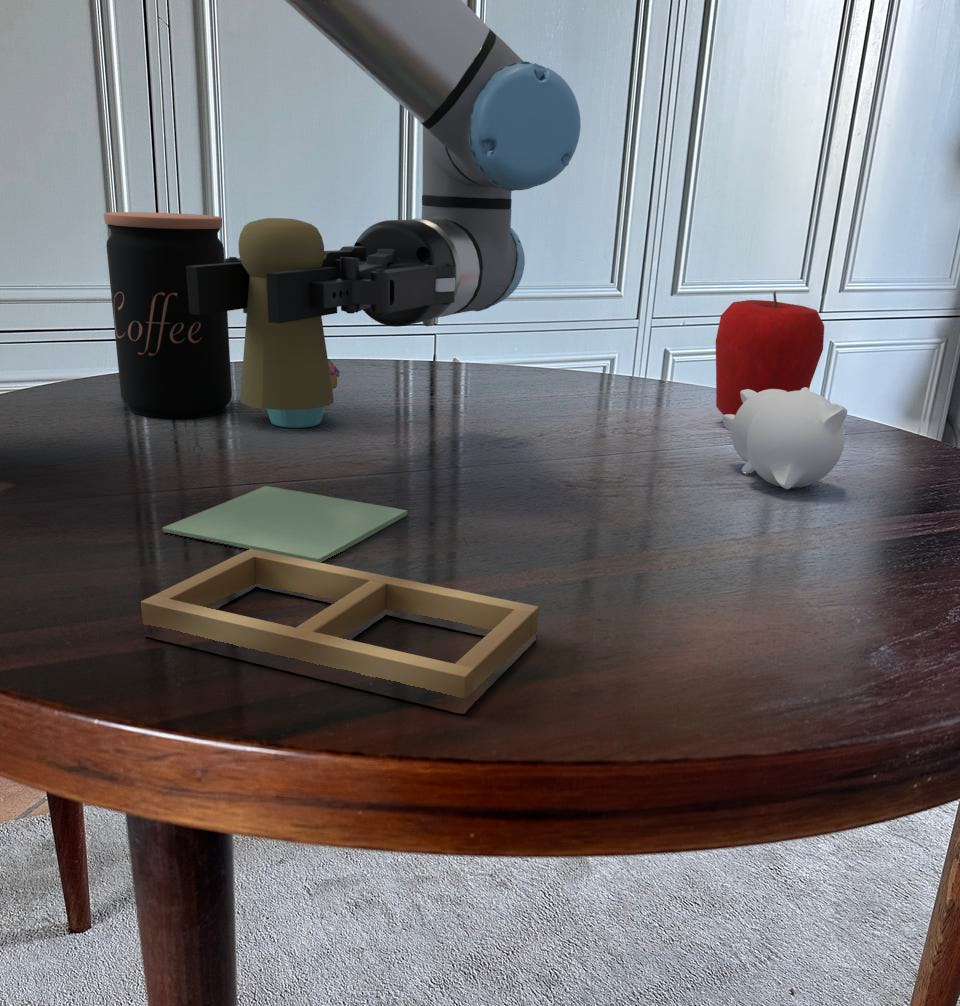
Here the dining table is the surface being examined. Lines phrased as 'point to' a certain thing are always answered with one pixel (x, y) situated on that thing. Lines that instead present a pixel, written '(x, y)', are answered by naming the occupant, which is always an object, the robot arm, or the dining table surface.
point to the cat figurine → (787, 435)
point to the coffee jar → (166, 315)
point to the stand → (345, 619)
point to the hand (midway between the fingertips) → (232, 294)
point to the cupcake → (305, 415)
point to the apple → (765, 349)
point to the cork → (282, 346)
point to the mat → (289, 523)
